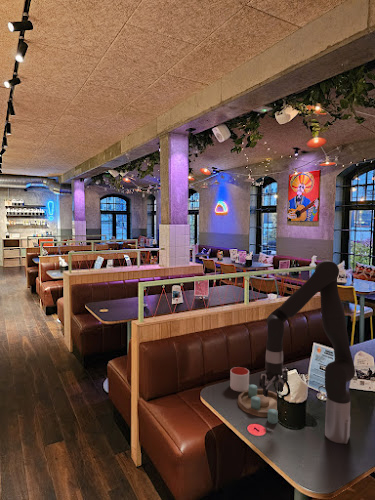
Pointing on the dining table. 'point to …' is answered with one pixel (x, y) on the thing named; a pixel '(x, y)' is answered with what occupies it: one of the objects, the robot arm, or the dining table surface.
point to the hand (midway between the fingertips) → (273, 394)
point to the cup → (239, 379)
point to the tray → (271, 400)
